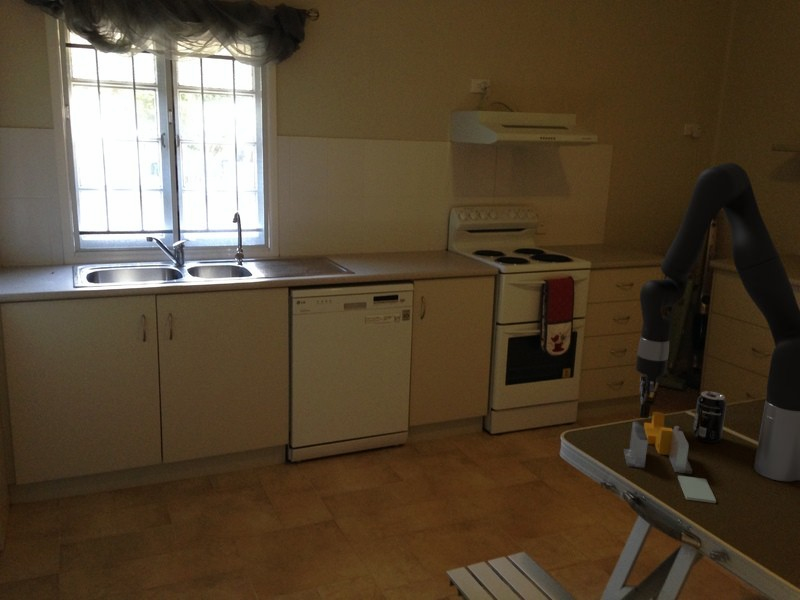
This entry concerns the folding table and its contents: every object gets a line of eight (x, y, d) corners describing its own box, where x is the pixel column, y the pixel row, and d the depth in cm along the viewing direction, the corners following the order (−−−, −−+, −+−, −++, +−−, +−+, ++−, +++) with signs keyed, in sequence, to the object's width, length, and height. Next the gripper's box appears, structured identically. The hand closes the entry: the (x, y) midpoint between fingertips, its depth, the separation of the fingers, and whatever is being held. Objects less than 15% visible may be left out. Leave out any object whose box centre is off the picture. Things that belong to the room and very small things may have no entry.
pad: (705, 481, 162) (705, 478, 162) (715, 503, 153) (716, 500, 153) (677, 477, 163) (677, 475, 163) (686, 499, 154) (686, 496, 154)
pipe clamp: (642, 434, 187) (645, 410, 186) (660, 435, 187) (663, 412, 185) (651, 453, 176) (654, 429, 174) (669, 455, 175) (673, 431, 173)
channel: (682, 453, 176) (686, 426, 175) (691, 473, 166) (696, 445, 164) (622, 446, 179) (625, 420, 177) (627, 466, 168) (630, 438, 166)
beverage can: (701, 431, 190) (707, 388, 187) (725, 440, 185) (732, 396, 182) (686, 437, 186) (693, 393, 183) (711, 446, 181) (718, 402, 178)
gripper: (672, 364, 179) (662, 428, 184) (663, 348, 192) (654, 409, 196) (641, 361, 181) (632, 425, 185) (634, 345, 193) (626, 405, 198)
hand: (643, 416), depth 191 cm, fingers closed
